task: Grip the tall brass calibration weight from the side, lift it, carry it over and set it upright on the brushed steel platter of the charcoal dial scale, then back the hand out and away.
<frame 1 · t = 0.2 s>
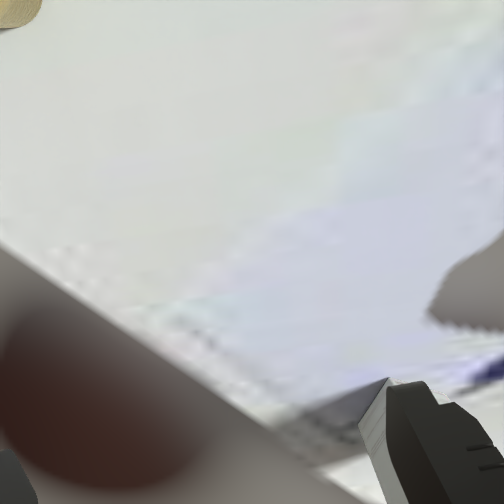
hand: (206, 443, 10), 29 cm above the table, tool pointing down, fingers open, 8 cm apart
supplement box: (400, 407, 50), on the table
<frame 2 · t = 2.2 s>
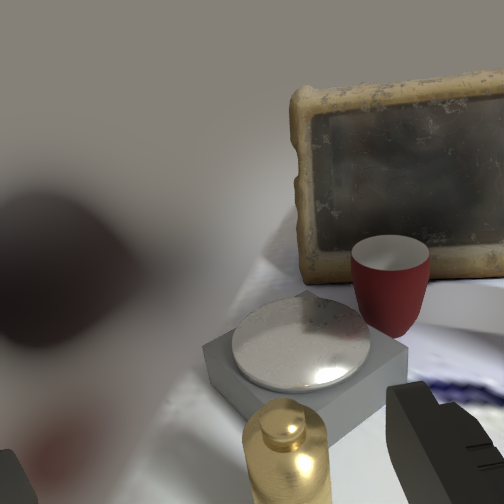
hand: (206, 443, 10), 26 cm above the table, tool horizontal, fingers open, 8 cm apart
tablet: (416, 264, 65), on the table
mug: (388, 323, 54), on the table
scale housing: (304, 385, 47), on the table
scale platter: (300, 339, 44), point 6 cm above the table, slide at 0.8 cm
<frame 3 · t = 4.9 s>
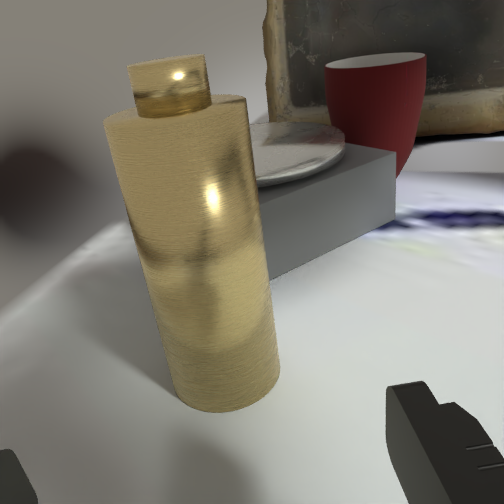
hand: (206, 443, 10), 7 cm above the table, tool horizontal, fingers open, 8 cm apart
calibration weight: (226, 371, 22), on the table
tablet: (410, 134, 54), on the table
mug: (375, 175, 43), on the table
scale housing: (261, 225, 36), on the table
scale platter: (252, 150, 33), point 6 cm above the table, slide at 0.8 cm
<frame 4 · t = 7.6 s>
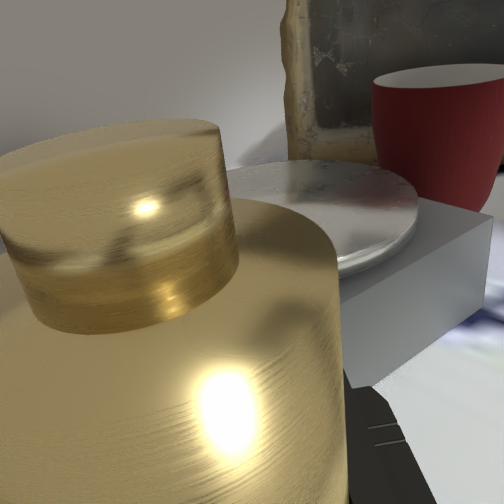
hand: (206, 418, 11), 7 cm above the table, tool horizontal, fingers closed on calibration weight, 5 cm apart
tablet: (461, 159, 44), on the table
mug: (431, 223, 33), on the table
scale housing: (288, 308, 26), on the table
scale platter: (278, 210, 23), point 6 cm above the table, slide at 0.8 cm
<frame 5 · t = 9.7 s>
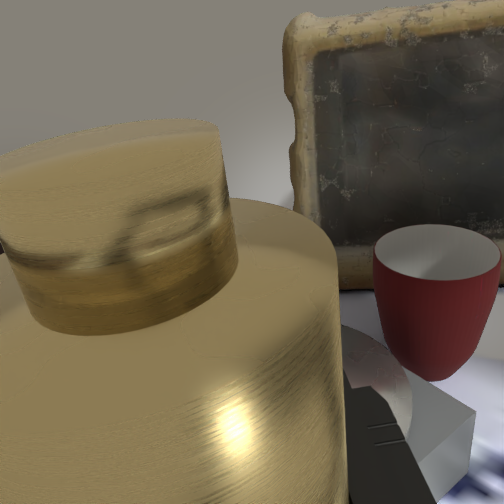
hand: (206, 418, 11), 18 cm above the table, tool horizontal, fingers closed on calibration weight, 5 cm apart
tablet: (454, 264, 48), on the table
mug: (426, 354, 37), on the table
scale housing: (300, 462, 29), on the table
scale platter: (293, 393, 27), point 6 cm above the table, slide at 0.8 cm
when the fingers open (15 cm above the table, at t = 12.0 s): calibration weight drops 2 cm, resting on scale platter.
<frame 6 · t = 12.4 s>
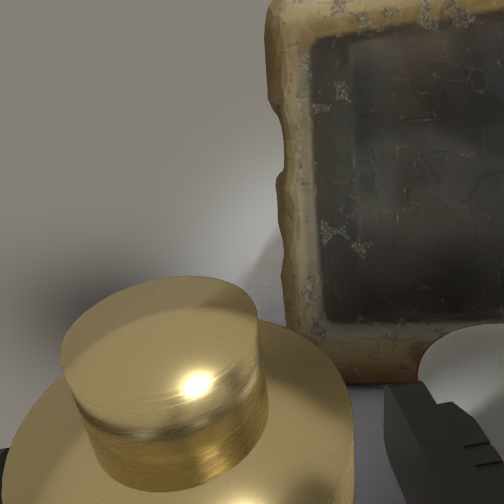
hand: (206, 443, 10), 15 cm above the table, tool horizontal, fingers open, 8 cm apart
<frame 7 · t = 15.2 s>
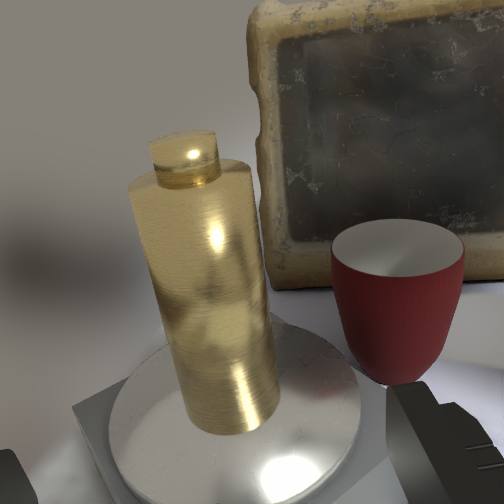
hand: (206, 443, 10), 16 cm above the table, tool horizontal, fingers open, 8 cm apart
calibration weight: (232, 396, 24), point 6 cm above the table, touching scale platter
tablet: (429, 260, 47), on the table
mug: (393, 358, 35), on the table
scale housing: (249, 474, 27), on the table
scale platter: (235, 401, 25), point 6 cm above the table, slide at 0.9 cm, touching calibration weight
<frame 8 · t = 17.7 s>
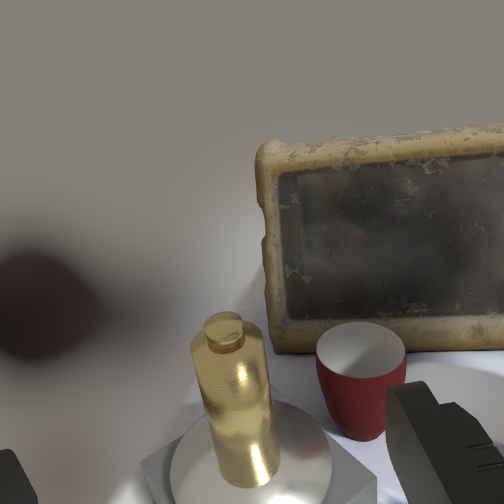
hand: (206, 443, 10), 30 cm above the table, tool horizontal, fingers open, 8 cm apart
calibration weight: (249, 460, 37), point 6 cm above the table, touching scale platter
tablet: (396, 328, 60), on the table
mug: (362, 417, 48), on the table
scale platter: (250, 462, 38), point 6 cm above the table, slide at 0.9 cm, touching calibration weight
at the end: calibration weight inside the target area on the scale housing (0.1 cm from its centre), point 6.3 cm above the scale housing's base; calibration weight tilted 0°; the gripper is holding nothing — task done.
